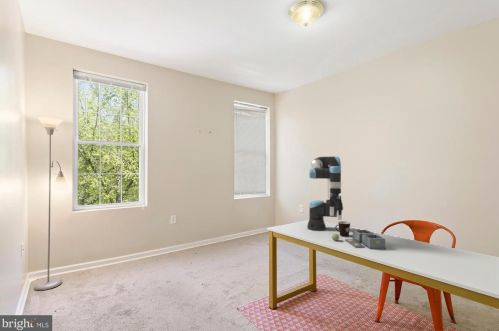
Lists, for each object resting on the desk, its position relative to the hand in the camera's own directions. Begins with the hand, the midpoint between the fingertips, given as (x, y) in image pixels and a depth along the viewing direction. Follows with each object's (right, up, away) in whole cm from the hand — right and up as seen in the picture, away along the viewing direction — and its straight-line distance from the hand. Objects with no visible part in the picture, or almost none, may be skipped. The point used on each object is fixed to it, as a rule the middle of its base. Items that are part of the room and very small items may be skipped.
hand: (335, 217), depth 180 cm
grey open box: (+21, -16, -13) cm, 29 cm away
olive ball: (0, -16, 0) cm, 16 cm away
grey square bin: (+19, -16, -1) cm, 25 cm away
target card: (+10, -16, -7) cm, 21 cm away
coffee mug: (+9, -16, +13) cm, 23 cm away
